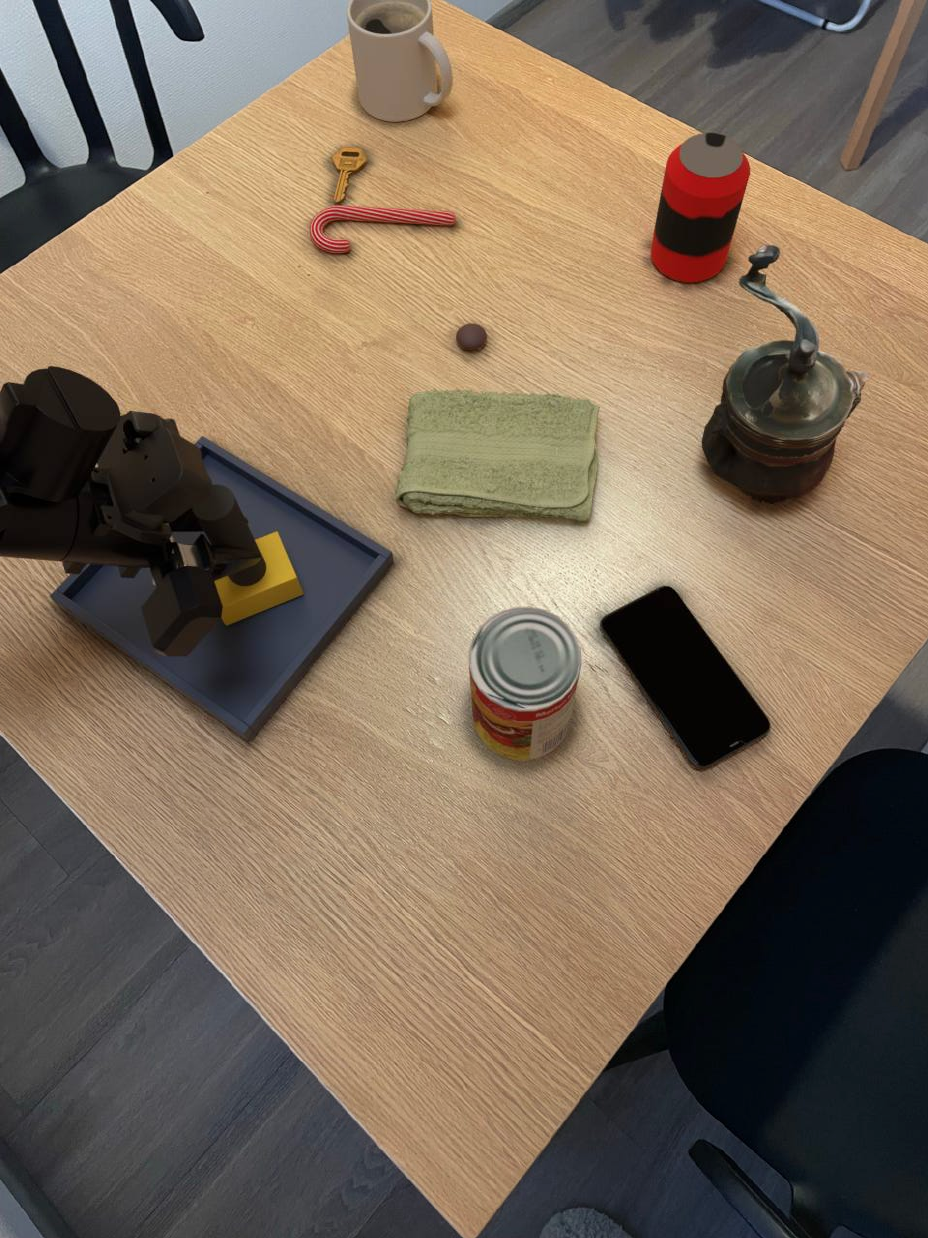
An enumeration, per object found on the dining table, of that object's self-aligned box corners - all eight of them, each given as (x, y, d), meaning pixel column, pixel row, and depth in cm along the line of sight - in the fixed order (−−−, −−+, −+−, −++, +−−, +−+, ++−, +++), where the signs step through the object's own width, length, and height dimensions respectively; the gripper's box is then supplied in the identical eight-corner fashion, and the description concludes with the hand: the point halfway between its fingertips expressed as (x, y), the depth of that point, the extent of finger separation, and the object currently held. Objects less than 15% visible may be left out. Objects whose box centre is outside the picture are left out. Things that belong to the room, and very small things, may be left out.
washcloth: (594, 529, 85) (597, 510, 82) (394, 518, 86) (391, 498, 84) (598, 407, 91) (602, 386, 88) (410, 398, 92) (408, 376, 89)
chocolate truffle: (489, 351, 94) (489, 340, 92) (458, 356, 94) (458, 345, 92) (484, 327, 95) (484, 316, 94) (454, 332, 95) (453, 321, 94)
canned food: (508, 651, 81) (509, 586, 70) (589, 701, 79) (603, 643, 68) (453, 726, 78) (446, 670, 67) (535, 780, 76) (541, 732, 65)
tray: (249, 742, 78) (243, 734, 76) (59, 606, 84) (48, 596, 82) (394, 563, 85) (392, 551, 83) (208, 448, 90) (202, 435, 88)
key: (321, 202, 103) (321, 199, 102) (335, 149, 106) (335, 145, 106) (356, 204, 102) (356, 201, 102) (369, 151, 106) (369, 148, 105)
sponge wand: (226, 626, 82) (177, 546, 70) (208, 579, 84) (158, 494, 72) (304, 594, 83) (268, 510, 71) (284, 549, 85) (247, 460, 73)
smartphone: (594, 623, 81) (696, 776, 76) (595, 619, 81) (698, 773, 75) (668, 584, 83) (774, 731, 77) (670, 580, 82) (777, 728, 76)
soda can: (730, 234, 99) (759, 131, 88) (720, 290, 96) (748, 190, 85) (656, 222, 100) (675, 119, 89) (644, 277, 97) (662, 177, 86)
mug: (351, 77, 111) (338, -11, 102) (431, 60, 112) (426, -29, 103) (372, 141, 106) (361, 55, 97) (456, 123, 107) (452, 36, 98)
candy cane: (450, 262, 99) (450, 251, 98) (306, 254, 100) (303, 243, 99) (456, 218, 101) (456, 207, 100) (315, 211, 102) (313, 200, 101)
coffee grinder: (758, 369, 92) (813, 219, 76) (852, 487, 86) (934, 352, 70) (641, 421, 90) (672, 278, 74) (730, 546, 84) (785, 421, 68)
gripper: (147, 561, 58) (348, 578, 69) (77, 336, 65) (268, 386, 77) (72, 659, 64) (267, 661, 76) (15, 444, 72) (201, 475, 83)
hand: (252, 541), depth 78 cm, fingers closed on sponge wand, 3 cm apart
